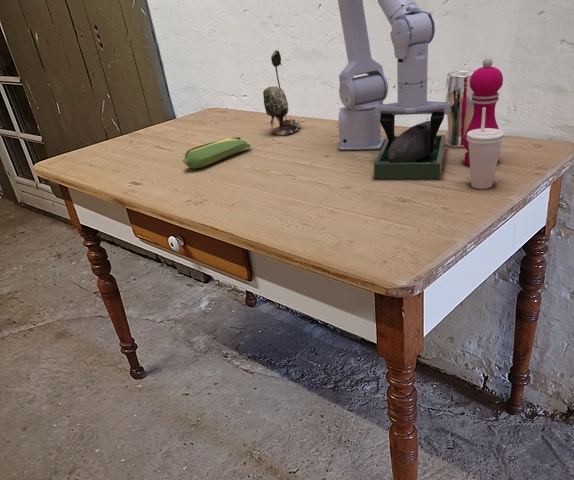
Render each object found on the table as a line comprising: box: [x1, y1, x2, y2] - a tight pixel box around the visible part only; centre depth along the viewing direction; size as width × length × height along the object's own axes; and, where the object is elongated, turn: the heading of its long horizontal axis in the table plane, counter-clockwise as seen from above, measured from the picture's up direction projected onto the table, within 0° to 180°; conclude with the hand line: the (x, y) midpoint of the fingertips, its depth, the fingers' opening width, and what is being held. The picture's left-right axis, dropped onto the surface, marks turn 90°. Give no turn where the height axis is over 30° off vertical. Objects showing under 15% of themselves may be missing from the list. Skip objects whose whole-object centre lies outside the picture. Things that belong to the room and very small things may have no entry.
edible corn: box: [182, 136, 252, 170], centre depth 134 cm, size 5×20×5 cm, turn 135°
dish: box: [373, 134, 447, 180], centre depth 119 cm, size 13×19×3 cm, turn 164°
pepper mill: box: [463, 57, 504, 167], centre depth 111 cm, size 7×7×20 cm
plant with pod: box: [262, 49, 303, 136], centre depth 147 cm, size 8×11×20 cm
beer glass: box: [444, 69, 475, 148], centre depth 124 cm, size 7×7×15 cm
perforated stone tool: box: [388, 120, 437, 163], centre depth 118 cm, size 15×5×7 cm, turn 132°
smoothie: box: [466, 107, 505, 190], centre depth 102 cm, size 6×6×14 cm
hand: (411, 149), depth 118 cm, fingers open, 7 cm apart
